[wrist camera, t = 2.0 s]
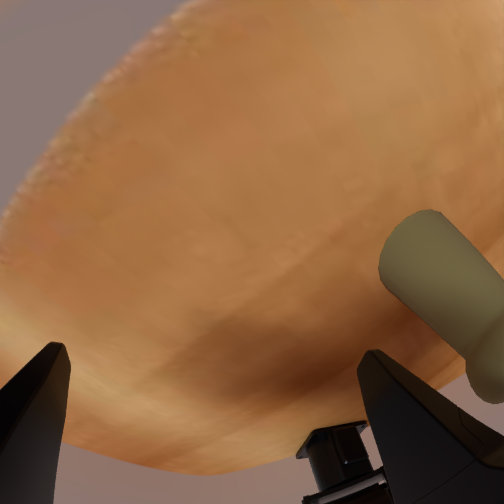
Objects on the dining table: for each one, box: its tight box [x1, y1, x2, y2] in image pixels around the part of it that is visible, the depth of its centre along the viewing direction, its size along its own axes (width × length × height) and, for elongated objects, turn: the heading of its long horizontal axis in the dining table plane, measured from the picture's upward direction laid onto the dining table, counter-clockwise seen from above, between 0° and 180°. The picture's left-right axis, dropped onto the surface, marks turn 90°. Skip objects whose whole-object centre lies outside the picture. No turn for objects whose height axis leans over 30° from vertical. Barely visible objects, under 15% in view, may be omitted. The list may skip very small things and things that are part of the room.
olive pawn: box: [379, 210, 504, 404], centre depth 13 cm, size 6×6×11 cm
